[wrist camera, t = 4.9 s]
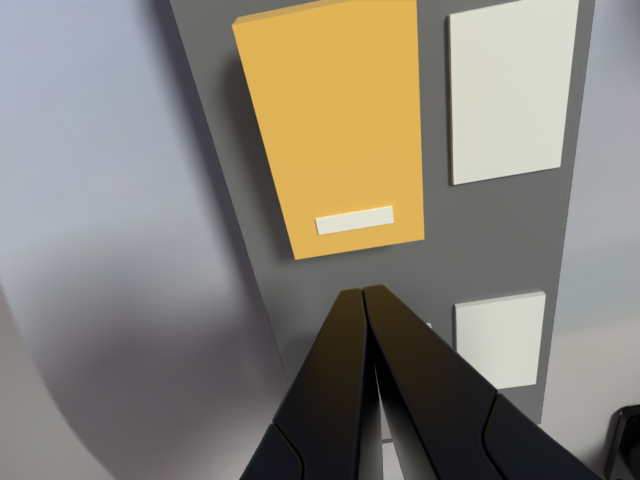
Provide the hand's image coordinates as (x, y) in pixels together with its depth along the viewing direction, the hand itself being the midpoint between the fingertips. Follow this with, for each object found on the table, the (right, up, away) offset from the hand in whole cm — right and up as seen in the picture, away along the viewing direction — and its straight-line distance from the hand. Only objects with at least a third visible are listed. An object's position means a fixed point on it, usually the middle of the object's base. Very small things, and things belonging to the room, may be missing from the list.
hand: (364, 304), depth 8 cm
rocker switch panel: (+2, +3, +8) cm, 8 cm away
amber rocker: (0, +4, +2) cm, 4 cm away
